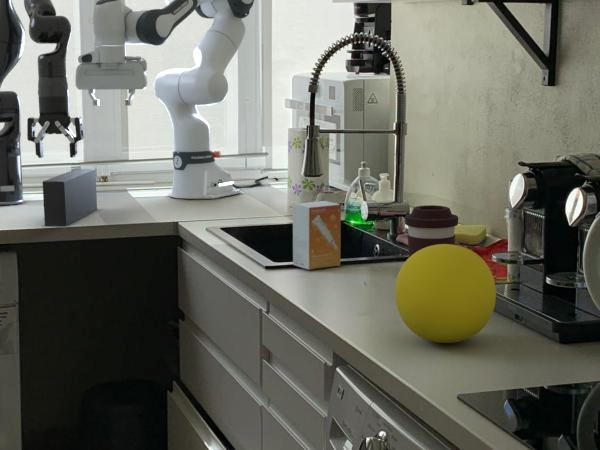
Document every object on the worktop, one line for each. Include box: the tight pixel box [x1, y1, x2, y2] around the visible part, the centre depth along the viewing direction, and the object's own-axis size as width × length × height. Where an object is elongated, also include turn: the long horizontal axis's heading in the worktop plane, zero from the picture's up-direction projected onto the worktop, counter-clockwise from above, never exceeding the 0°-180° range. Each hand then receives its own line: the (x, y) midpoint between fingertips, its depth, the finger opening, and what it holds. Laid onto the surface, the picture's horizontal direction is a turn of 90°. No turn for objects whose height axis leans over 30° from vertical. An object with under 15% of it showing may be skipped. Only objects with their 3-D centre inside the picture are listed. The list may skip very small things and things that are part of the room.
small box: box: [292, 200, 342, 271], centre depth 216 cm, size 8×6×13 cm
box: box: [42, 168, 98, 227], centre depth 284 cm, size 28×6×12 cm, turn 175°
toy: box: [394, 244, 497, 344], centre depth 160 cm, size 15×15×15 cm
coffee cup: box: [404, 204, 459, 258], centre depth 197 cm, size 10×10×15 cm
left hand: (56, 157), depth 272 cm, fingers open, 8 cm apart
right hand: (112, 105), depth 298 cm, fingers open, 8 cm apart
